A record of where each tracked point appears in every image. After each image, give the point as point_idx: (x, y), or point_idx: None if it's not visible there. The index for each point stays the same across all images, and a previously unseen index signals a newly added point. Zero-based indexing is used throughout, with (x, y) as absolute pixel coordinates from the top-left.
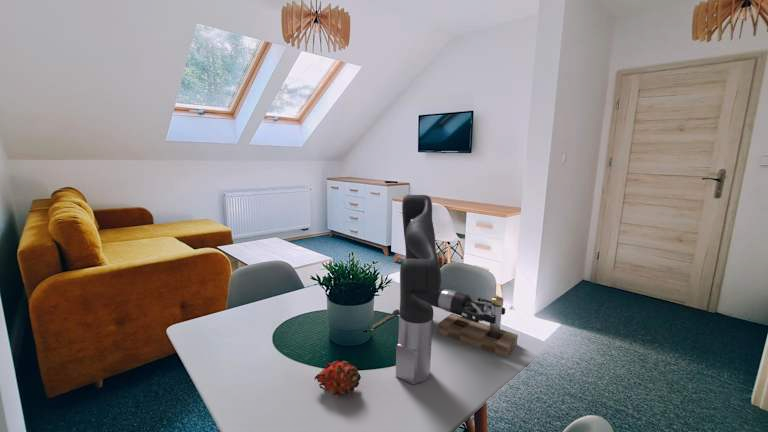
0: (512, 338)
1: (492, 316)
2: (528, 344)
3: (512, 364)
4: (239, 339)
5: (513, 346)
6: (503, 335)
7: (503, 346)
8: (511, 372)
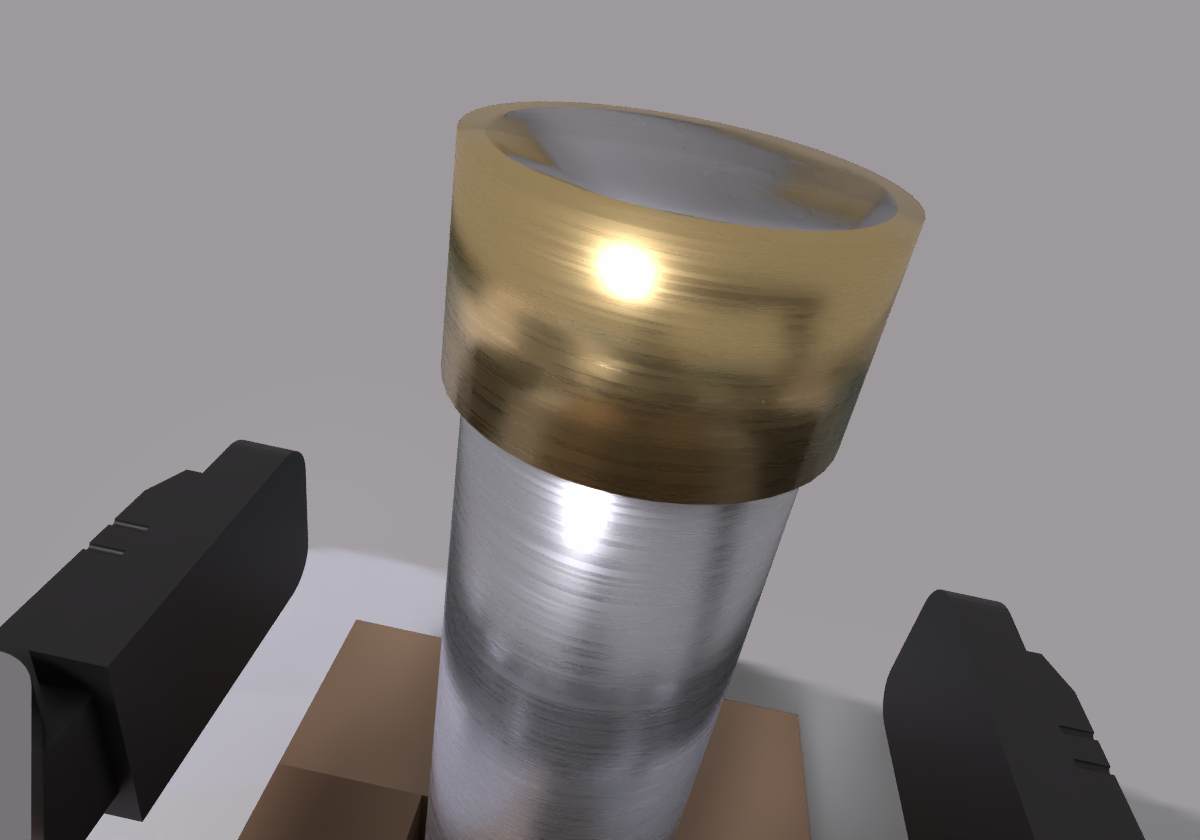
0: None
1: (1005, 642)
2: (302, 613)
3: (839, 743)
4: None
5: None
6: None
7: (798, 772)
8: None
